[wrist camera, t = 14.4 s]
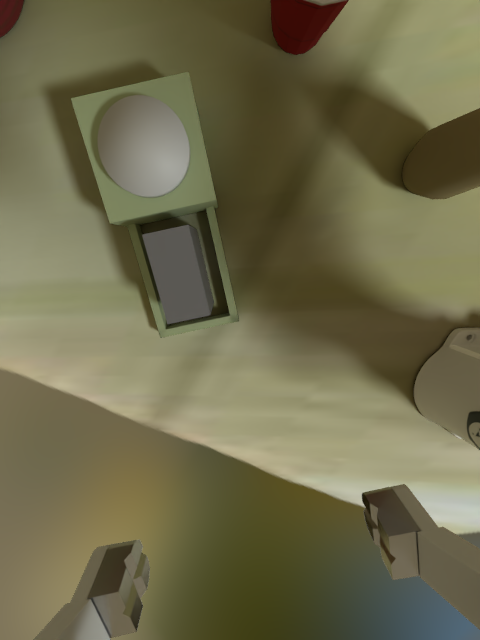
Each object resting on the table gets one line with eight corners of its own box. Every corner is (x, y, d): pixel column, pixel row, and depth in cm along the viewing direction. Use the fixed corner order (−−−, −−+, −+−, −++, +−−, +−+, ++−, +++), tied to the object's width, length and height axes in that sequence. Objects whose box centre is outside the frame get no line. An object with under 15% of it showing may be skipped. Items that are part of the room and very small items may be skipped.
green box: (195, 102, 33) (186, 63, 26) (241, 316, 40) (244, 331, 33) (97, 124, 34) (63, 91, 27) (160, 334, 40) (146, 352, 33)
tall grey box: (196, 229, 37) (188, 224, 29) (213, 302, 40) (210, 315, 32) (160, 237, 37) (142, 234, 29) (179, 309, 40) (167, 324, 32)
